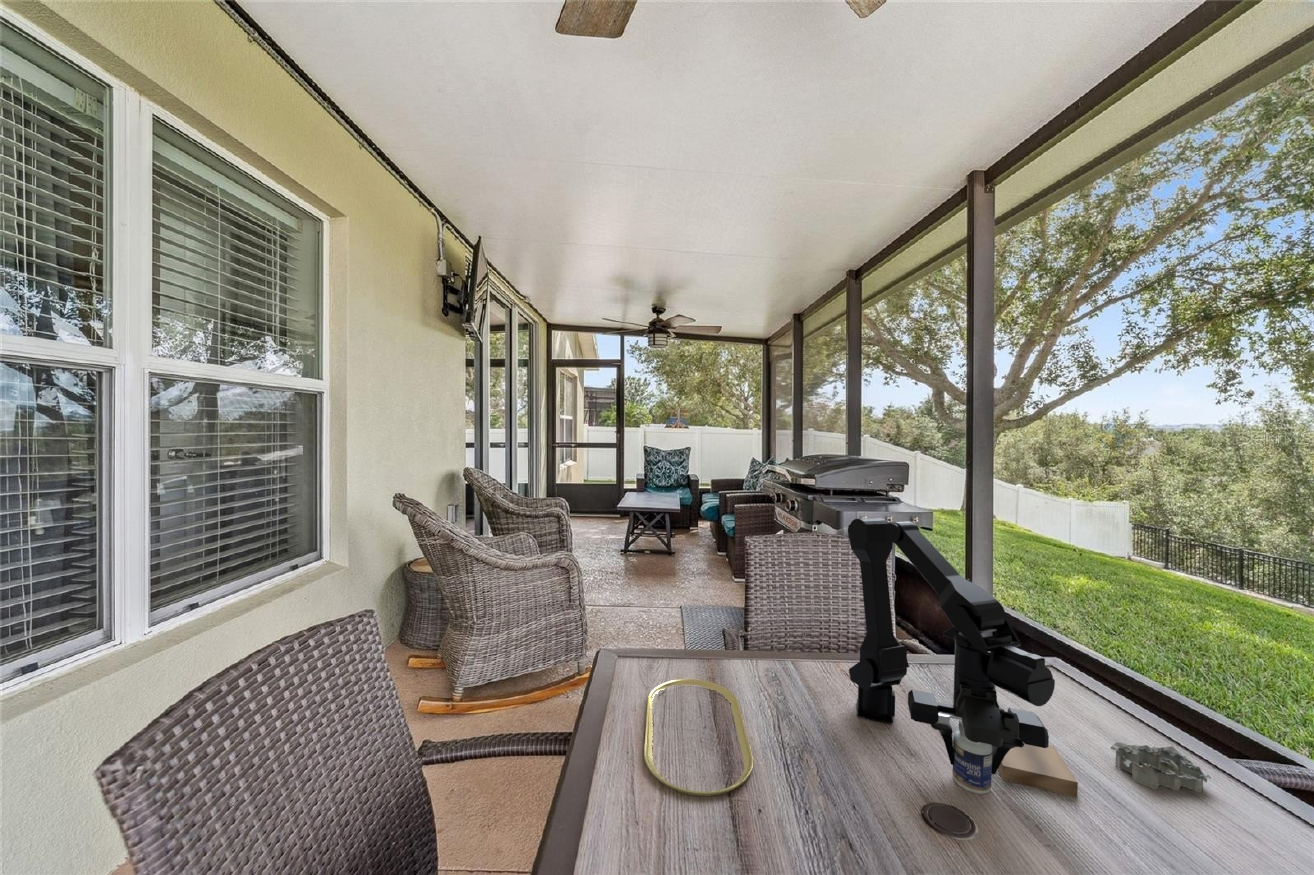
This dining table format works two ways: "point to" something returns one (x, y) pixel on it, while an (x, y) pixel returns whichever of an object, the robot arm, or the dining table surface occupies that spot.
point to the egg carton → (1159, 767)
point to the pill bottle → (972, 763)
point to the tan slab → (1038, 769)
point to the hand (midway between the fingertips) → (971, 768)
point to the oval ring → (738, 723)
